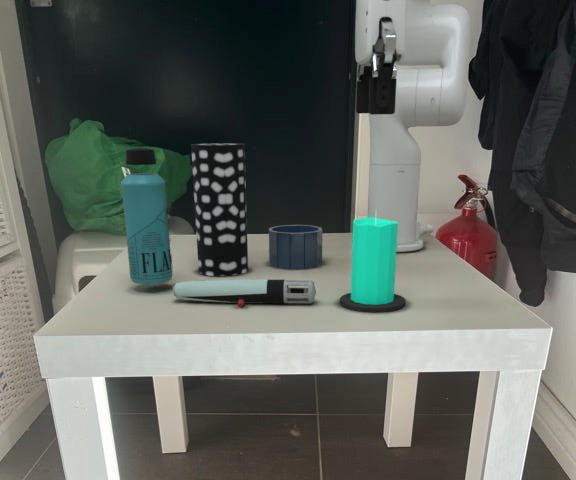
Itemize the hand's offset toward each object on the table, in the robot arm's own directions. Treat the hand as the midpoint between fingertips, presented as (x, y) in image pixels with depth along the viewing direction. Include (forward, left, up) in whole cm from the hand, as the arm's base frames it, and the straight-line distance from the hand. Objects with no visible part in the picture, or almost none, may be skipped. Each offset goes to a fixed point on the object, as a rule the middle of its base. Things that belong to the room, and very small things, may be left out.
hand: (374, 113), depth 84 cm
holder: (-3, -24, -24) cm, 34 cm away
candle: (+3, +4, -24) cm, 24 cm away
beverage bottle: (+25, -21, -24) cm, 40 cm away
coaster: (+3, +4, -24) cm, 25 cm away
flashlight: (+17, -6, -24) cm, 30 cm away
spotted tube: (+10, -26, -24) cm, 37 cm away
